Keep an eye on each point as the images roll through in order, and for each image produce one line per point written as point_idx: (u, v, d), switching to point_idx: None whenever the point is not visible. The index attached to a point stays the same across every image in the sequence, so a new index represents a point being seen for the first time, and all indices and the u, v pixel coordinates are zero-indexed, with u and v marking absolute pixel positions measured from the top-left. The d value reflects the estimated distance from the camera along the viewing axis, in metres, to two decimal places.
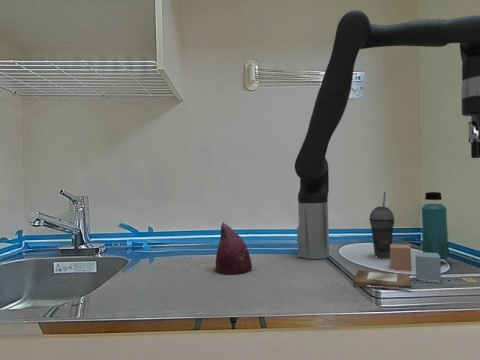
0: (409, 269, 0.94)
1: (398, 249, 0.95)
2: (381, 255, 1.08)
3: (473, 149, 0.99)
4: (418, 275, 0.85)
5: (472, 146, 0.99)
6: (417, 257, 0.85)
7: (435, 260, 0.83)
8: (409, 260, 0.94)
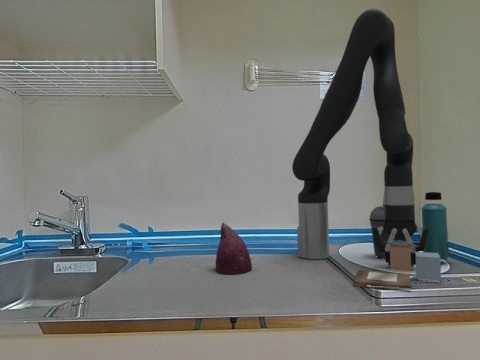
0: (409, 269, 0.94)
1: (398, 249, 0.95)
2: (381, 255, 1.08)
3: None
4: (418, 275, 0.85)
5: None
6: (417, 257, 0.85)
7: (434, 260, 0.83)
8: (409, 260, 0.94)
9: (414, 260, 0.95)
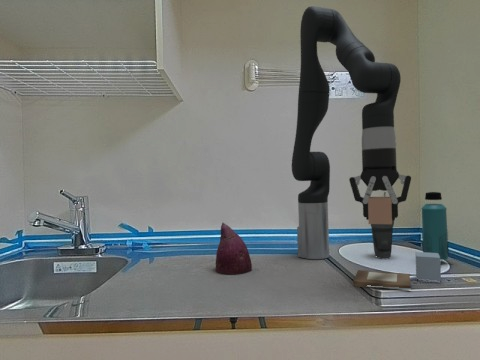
0: (389, 222, 0.81)
1: (377, 200, 0.82)
2: (381, 255, 1.08)
3: None
4: (418, 275, 0.85)
5: None
6: (417, 257, 0.85)
7: (434, 260, 0.83)
8: (389, 212, 0.81)
9: (395, 212, 0.83)
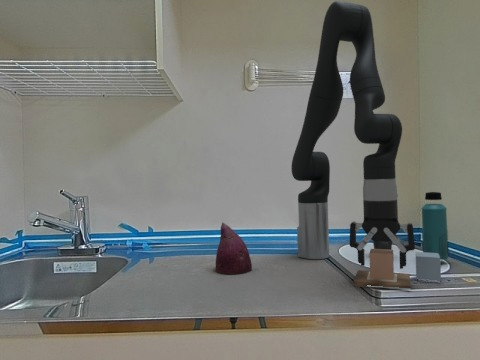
0: (391, 278, 0.82)
1: (379, 255, 0.83)
2: None
3: (363, 256, 0.86)
4: (418, 275, 0.85)
5: None
6: (417, 257, 0.85)
7: (434, 260, 0.83)
8: (391, 267, 0.82)
9: (404, 261, 0.82)
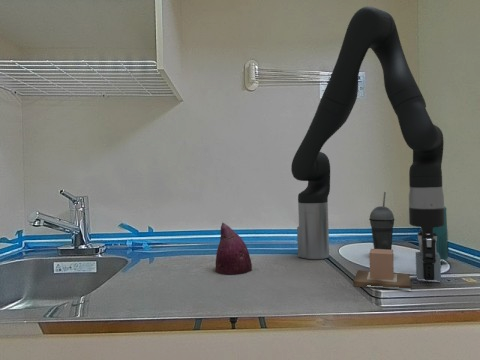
0: (391, 278, 0.82)
1: (379, 255, 0.83)
2: None
3: None
4: (418, 275, 0.85)
5: None
6: (417, 257, 0.85)
7: None
8: (391, 267, 0.82)
9: None
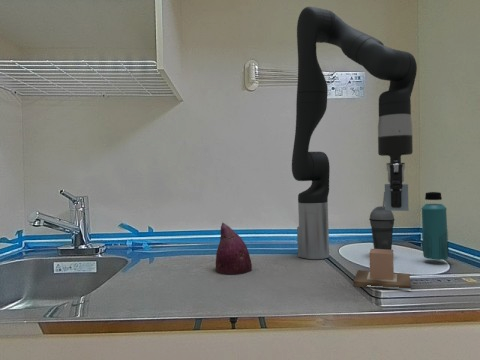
0: (391, 278, 0.82)
1: (379, 255, 0.83)
2: None
3: None
4: (386, 204, 0.84)
5: None
6: (385, 186, 0.84)
7: (402, 187, 0.82)
8: (391, 267, 0.82)
9: None
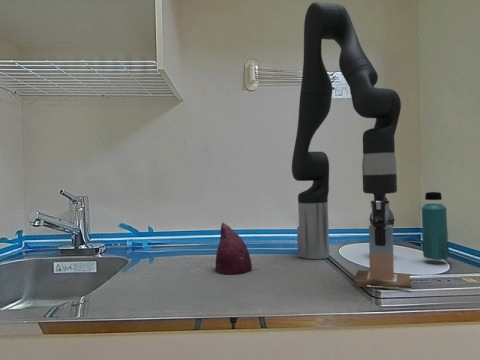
0: (391, 278, 0.82)
1: (378, 255, 0.83)
2: None
3: None
4: (370, 246, 0.83)
5: None
6: (369, 228, 0.83)
7: (386, 230, 0.82)
8: (391, 267, 0.82)
9: None
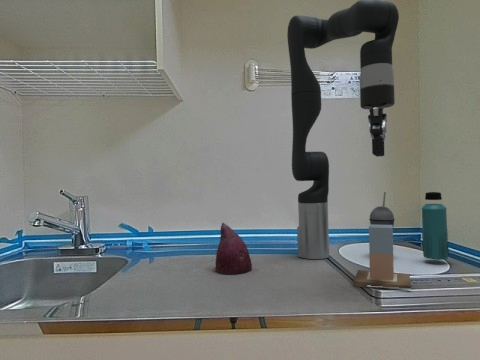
0: (391, 278, 0.82)
1: (378, 255, 0.83)
2: None
3: None
4: (370, 246, 0.83)
5: None
6: (369, 228, 0.83)
7: (386, 230, 0.82)
8: (391, 267, 0.82)
9: (382, 149, 0.88)
